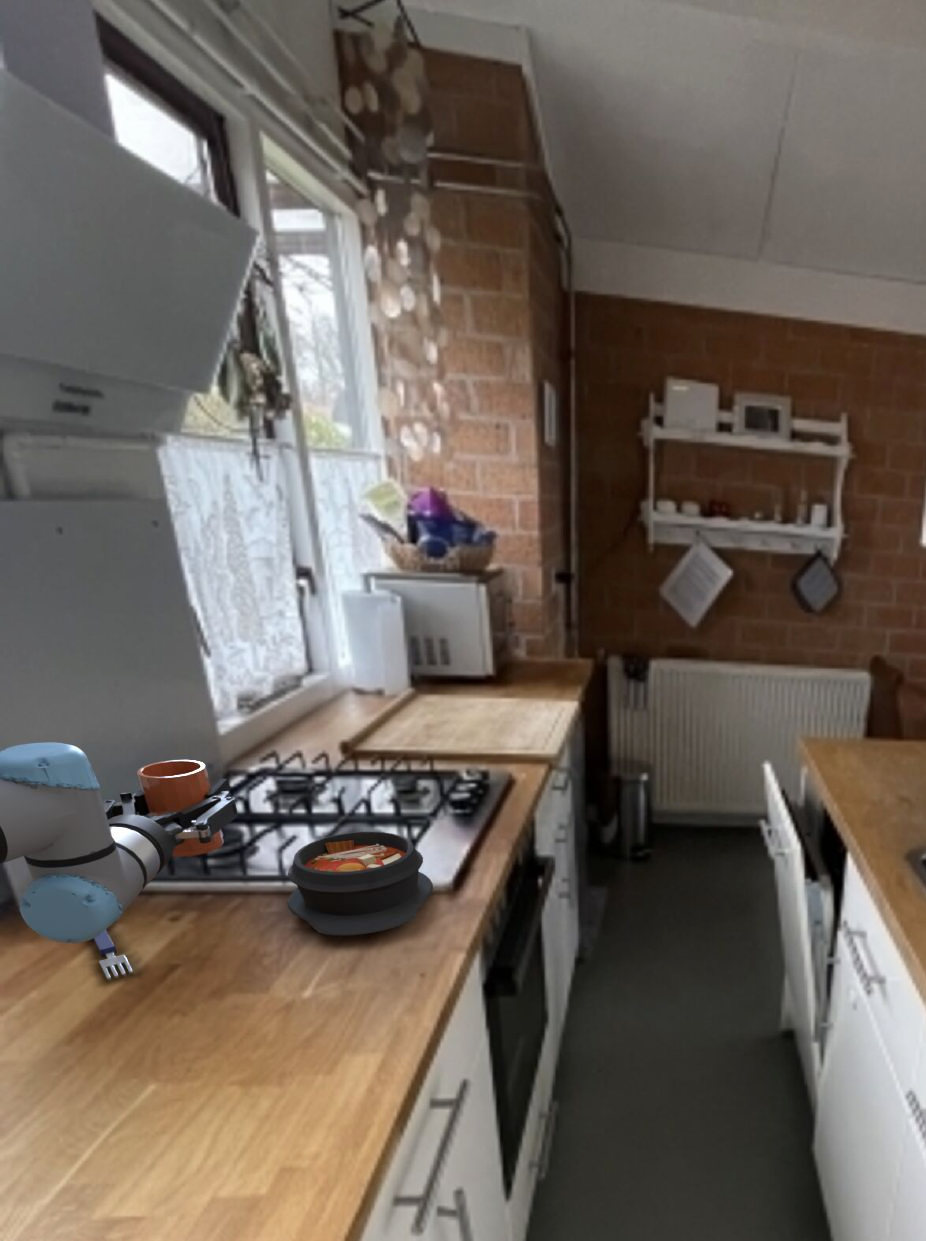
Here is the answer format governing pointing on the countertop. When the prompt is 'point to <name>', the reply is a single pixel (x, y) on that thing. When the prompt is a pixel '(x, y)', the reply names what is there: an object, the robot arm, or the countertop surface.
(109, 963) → the fork
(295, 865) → the casserole
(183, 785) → the tumbler
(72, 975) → the countertop surface
